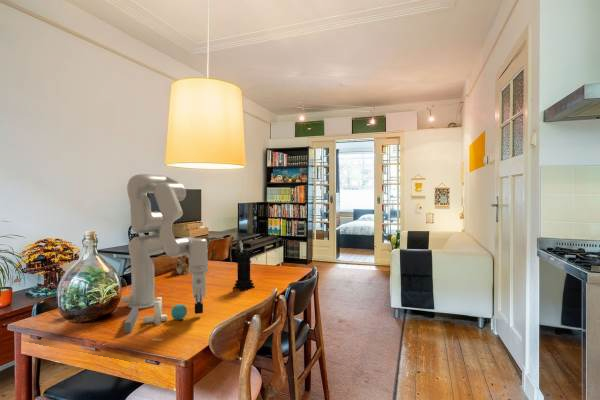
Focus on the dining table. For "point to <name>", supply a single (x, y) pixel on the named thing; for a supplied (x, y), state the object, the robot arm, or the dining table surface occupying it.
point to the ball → (179, 312)
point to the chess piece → (243, 270)
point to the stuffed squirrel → (182, 265)
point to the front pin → (151, 318)
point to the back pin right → (157, 312)
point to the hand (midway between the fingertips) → (198, 312)
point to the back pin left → (159, 300)
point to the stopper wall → (131, 320)
